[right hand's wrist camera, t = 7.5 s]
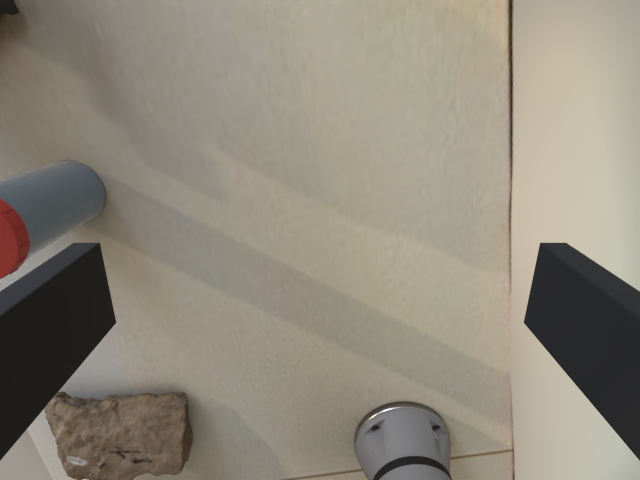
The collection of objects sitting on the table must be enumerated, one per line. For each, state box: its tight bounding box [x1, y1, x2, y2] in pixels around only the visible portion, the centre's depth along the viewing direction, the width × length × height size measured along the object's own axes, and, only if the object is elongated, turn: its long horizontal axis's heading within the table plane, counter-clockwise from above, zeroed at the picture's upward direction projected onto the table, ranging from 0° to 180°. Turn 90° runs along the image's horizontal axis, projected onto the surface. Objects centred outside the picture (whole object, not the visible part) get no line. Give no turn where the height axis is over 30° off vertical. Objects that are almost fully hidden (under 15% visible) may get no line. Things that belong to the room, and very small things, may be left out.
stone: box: [45, 392, 192, 480], centre depth 64 cm, size 21×15×6 cm
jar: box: [0, 161, 106, 259], centre depth 45 cm, size 8×8×17 cm
